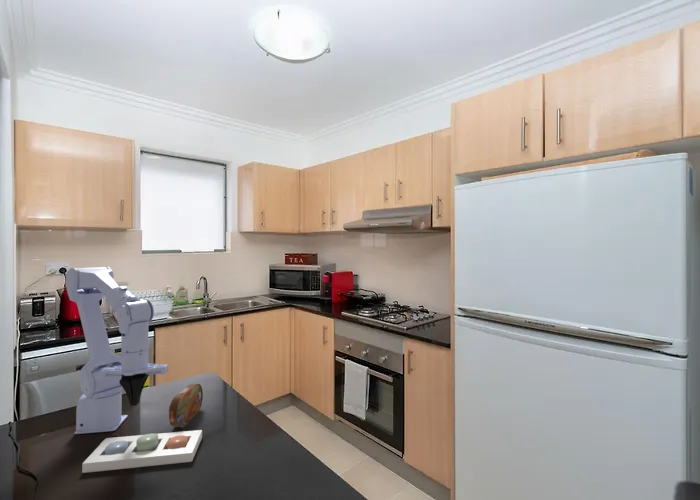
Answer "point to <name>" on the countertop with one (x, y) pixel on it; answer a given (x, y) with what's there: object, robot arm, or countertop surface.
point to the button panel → (142, 453)
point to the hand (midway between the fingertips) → (134, 404)
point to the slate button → (116, 448)
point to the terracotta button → (177, 442)
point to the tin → (185, 405)
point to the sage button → (147, 442)
